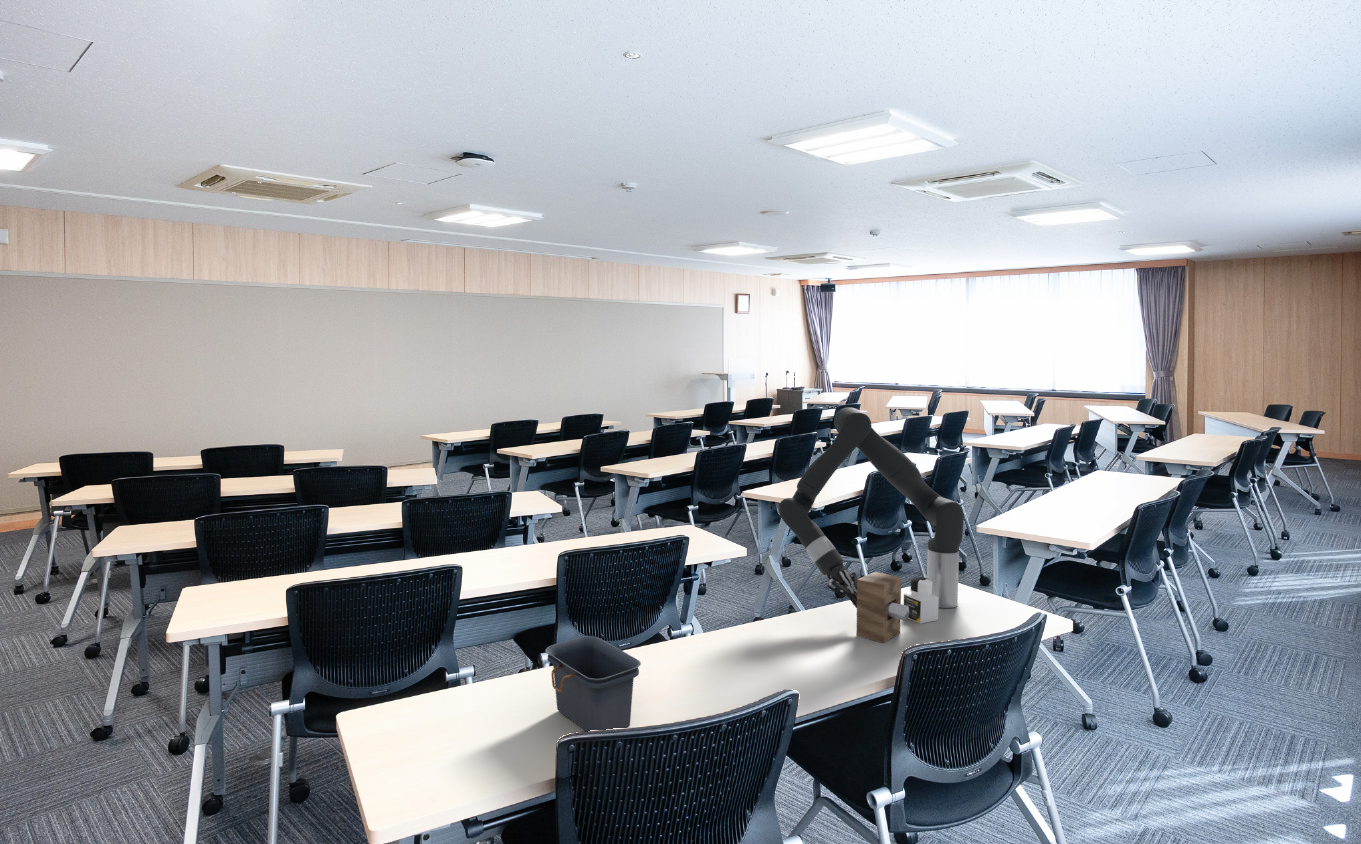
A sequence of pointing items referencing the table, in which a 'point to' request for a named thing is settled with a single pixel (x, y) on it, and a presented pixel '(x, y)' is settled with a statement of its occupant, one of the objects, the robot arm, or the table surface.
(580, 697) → the storage bin
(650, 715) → the table surface
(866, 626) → the post
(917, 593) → the medicine bottle
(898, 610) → the pin
